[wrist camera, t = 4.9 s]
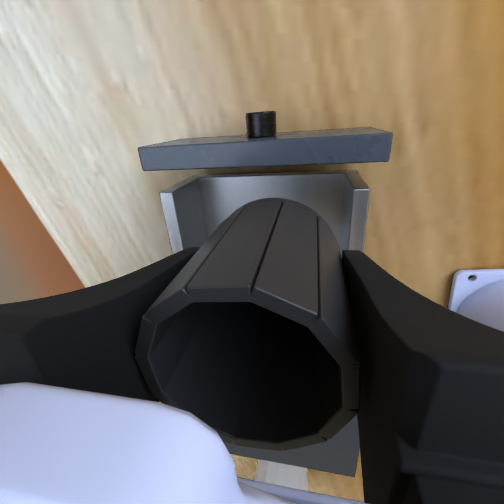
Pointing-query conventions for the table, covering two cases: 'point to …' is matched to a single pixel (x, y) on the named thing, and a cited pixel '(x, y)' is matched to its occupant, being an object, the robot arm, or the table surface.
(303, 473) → the white cylinder
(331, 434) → the dark grey faceted cup
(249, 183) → the drawer
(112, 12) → the table surface
